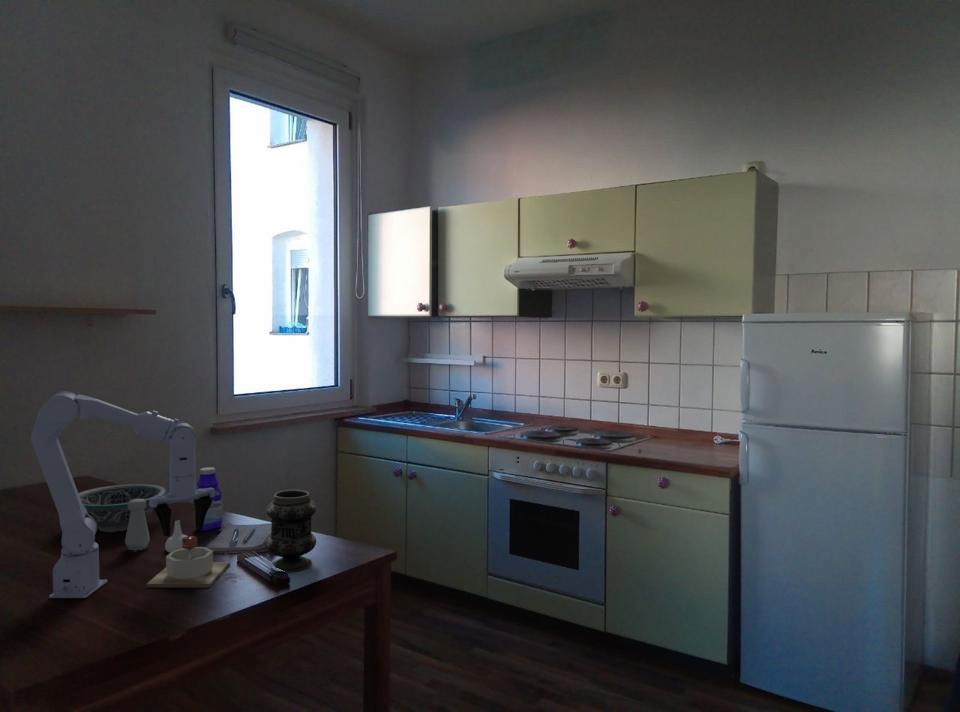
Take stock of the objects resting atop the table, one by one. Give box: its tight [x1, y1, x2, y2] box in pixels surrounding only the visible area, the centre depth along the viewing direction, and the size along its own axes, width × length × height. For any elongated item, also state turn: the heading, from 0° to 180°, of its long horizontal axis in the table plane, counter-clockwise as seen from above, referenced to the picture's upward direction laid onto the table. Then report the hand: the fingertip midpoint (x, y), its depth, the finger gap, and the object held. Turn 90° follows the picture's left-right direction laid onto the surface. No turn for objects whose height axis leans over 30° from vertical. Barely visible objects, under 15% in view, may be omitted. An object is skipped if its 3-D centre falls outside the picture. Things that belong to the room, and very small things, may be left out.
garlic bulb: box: [164, 519, 188, 554], centre depth 181 cm, size 6×6×8 cm
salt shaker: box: [124, 499, 151, 552], centre depth 181 cm, size 6×6×13 cm
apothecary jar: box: [265, 489, 317, 573], centre depth 170 cm, size 12×12×18 cm
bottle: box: [194, 466, 223, 532], centre depth 199 cm, size 7×6×17 cm
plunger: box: [182, 535, 198, 559], centre depth 163 cm, size 6×6×8 cm
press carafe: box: [165, 546, 214, 580], centre depth 163 cm, size 9×9×4 cm
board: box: [146, 561, 231, 588], centre depth 163 cm, size 14×14×1 cm
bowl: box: [78, 483, 167, 533], centre depth 200 cm, size 25×25×10 cm
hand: (183, 531), depth 163 cm, fingers open, 7 cm apart
